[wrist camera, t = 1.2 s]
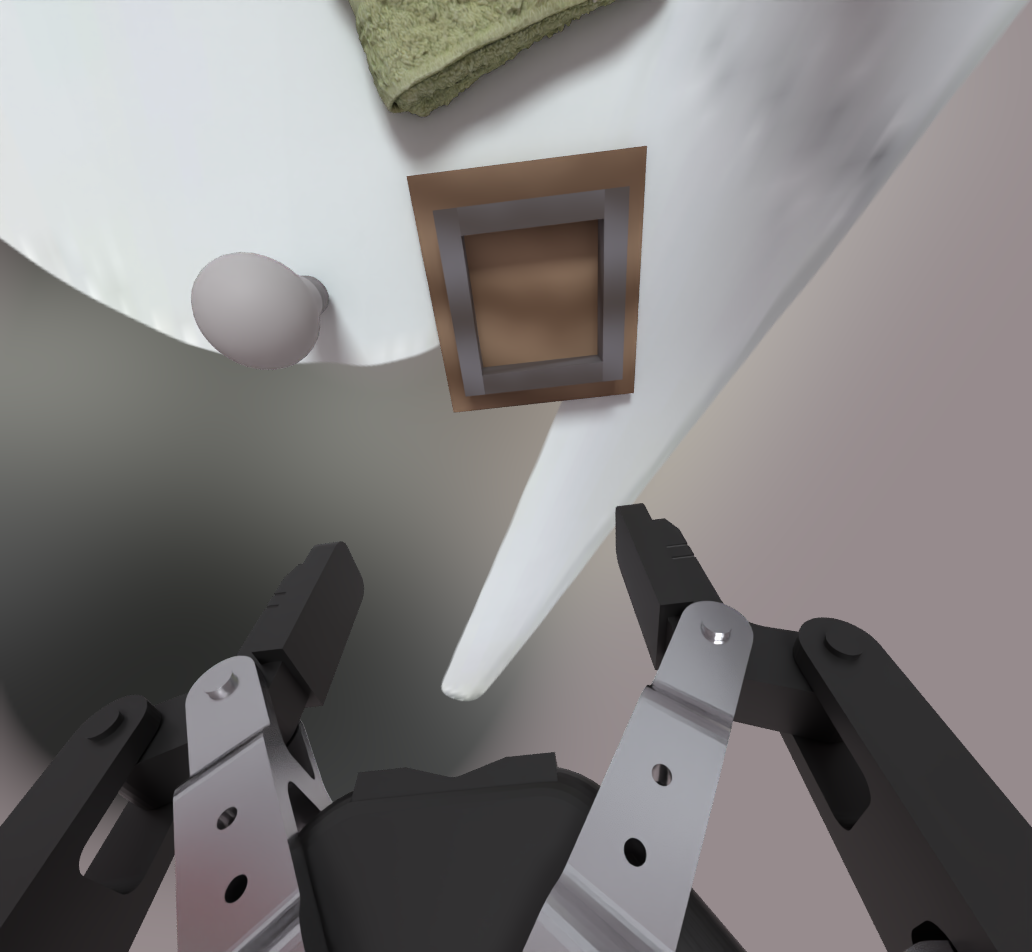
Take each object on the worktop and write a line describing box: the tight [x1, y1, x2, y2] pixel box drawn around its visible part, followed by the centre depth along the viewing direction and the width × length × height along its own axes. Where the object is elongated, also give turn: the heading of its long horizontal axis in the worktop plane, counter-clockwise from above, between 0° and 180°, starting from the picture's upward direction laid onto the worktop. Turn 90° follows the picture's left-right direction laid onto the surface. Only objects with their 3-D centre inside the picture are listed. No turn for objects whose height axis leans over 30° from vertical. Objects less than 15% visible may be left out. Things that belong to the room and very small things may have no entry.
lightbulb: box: [191, 252, 329, 370], centre depth 25 cm, size 6×6×11 cm
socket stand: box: [407, 146, 647, 412], centre depth 29 cm, size 16×15×3 cm
